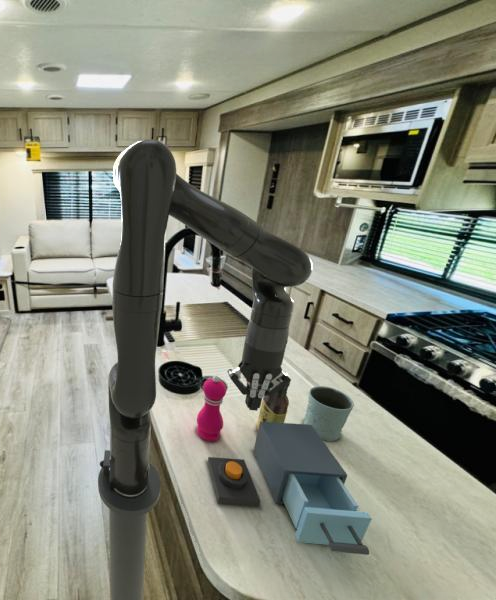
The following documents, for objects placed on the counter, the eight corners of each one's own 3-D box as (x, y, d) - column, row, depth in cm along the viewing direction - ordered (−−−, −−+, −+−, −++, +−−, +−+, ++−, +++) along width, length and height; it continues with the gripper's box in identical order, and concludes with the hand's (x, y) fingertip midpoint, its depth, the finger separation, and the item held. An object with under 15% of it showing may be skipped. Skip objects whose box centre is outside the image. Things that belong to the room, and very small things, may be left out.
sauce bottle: (254, 424, 94) (266, 368, 87) (277, 428, 92) (291, 372, 85) (257, 440, 88) (270, 382, 81) (281, 445, 86) (297, 387, 79)
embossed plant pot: (342, 427, 92) (353, 394, 88) (342, 449, 85) (354, 415, 80) (302, 413, 98) (311, 381, 94) (298, 433, 90) (308, 400, 86)
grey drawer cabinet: (334, 508, 70) (347, 475, 66) (275, 503, 71) (285, 470, 67) (302, 455, 83) (311, 424, 80) (253, 451, 85) (259, 421, 81)
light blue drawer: (375, 576, 58) (391, 545, 54) (309, 568, 59) (321, 539, 56) (320, 485, 74) (330, 458, 71) (270, 481, 76) (277, 454, 72)
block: (217, 503, 72) (219, 491, 70) (207, 463, 82) (208, 451, 80) (258, 507, 71) (261, 495, 69) (242, 465, 81) (245, 454, 79)
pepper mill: (196, 441, 89) (204, 383, 81) (194, 422, 95) (200, 367, 88) (223, 444, 87) (233, 385, 80) (218, 425, 94) (227, 369, 87)
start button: (227, 479, 74) (228, 473, 73) (223, 465, 77) (224, 460, 76) (243, 480, 73) (244, 474, 72) (238, 467, 76) (239, 461, 76)
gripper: (290, 333, 67) (275, 398, 73) (227, 331, 69) (217, 395, 75) (308, 351, 60) (290, 421, 67) (237, 349, 62) (226, 417, 68)
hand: (251, 407), depth 71 cm, fingers closed
